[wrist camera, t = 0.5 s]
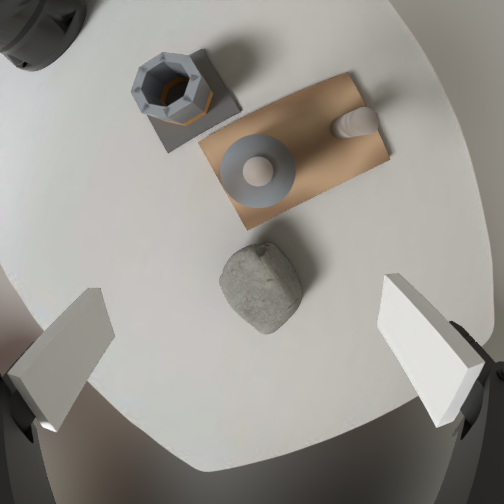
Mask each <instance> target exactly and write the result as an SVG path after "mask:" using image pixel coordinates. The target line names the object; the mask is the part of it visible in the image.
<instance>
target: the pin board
mask: <svg viewBox="0 0 504 504" xmlns="http://www.w3.org/2000/svg"><path fill="white" fill-rule="evenodd" d="M378 127H379V117H378V115H377V114H376V112H375V111H374V110H372V109H371V108H369V107H366V105H365V103H364V101H363V99H362V97H361V95H360V93H359V92H358V90H357V88H356V86H355V84H354V82H353V81H352V79H351V77H350V75H349V74H348V72H347V73H344V74H342V75H339V76H336V77H334V78H331V79H328V80H326V81H323V82H321V83H318V84H316V85H313V86H311V87H308V88H306V89H303V90H301V91H299V92H296V93H294V94H292V95H290V96H287V97H285V98H283V99H281V100H278V101H276V102H274V103H272V104H270V105H268V106H266V107H264V108H261V109H259V110H257V111H255V112H253V113H251V114H249V115H247V116H245V117H243V118H241V119H239V120H238V121H236V122H234V123H232V124H230V125H228V126H226V127H224V128H223V129H221V130H219V131H217V132H215V133H213V134H212V135H210V136H208V137H206V138H205V139H203V140H201V141H199V142H198V143H199V145H200V147H201V149H202V151H203V152H204V154H205V156H206V158H207V159H208V161H209V163H210V165H211V167H212V168H213V170H214V172H215V174H216V176H217V177H218V179H219V181H220V183H221V184H222V186H223V188H224V190H225V192H226V193H227V195H228V197H229V199H230V201H231V202H232V204H233V206H234V208H235V210H236V211H237V213H238V215H239V217H240V218H241V220H242V222H243V224H244V226H245V227H246V229H247V231H248V230H250V229H251V228H253V227H255V226H257V225H259V224H261V223H263V222H265V221H267V220H269V219H271V218H273V217H275V216H277V215H279V214H281V213H283V212H285V211H287V210H289V209H291V208H293V207H295V206H297V205H299V204H301V203H303V202H305V201H307V200H309V199H311V198H313V197H315V196H317V195H319V194H321V193H323V192H325V191H327V190H329V189H331V188H333V187H335V186H337V185H339V184H341V183H343V182H345V181H347V180H349V179H351V178H353V177H355V176H357V175H359V174H361V173H363V172H366V171H368V170H370V169H372V168H374V167H376V166H378V165H380V164H382V163H384V162H386V161H388V160H390V157H389V155H388V152H387V150H386V148H385V145H384V143H383V141H382V139H381V136H380V134H379V132H378V130H377V129H378Z"/></svg>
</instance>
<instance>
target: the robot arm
mask: <svg viewBox="0 0 504 504" xmlns="http://www.w3.org/2000/svg"><path fill="white" fill-rule="evenodd" d="M85 14H86V2H85V0H0V53H2V54H3V55H4V56H5V57H6V58H7V59H8V60H9V61H10V62H12V63H13V64H14V65H15V66H16V67H17V68H19V69H22V70H26V71H38V70H41V69H43V68H45V67H47V66H48V65H50V64H51V63H52V62H54V61H55V60H56V59H57V58H58V57H59V56H60V55H62V53H63V52H64V51H65V50H66V49H67V48H68V47H69V45H70V44H71V43H72V41H73V40H74V38H75V37H76V35H77V34H78V32H79V30H80V28H81V26H82V24H83V21H84V18H85ZM377 327H378V328H379V330H380V332H381V333H382V335H383V336H384V338H385V339H386V341H387V343H388V344H389V346H390V348H391V349H392V351H393V352H394V354H395V356H396V357H397V359H398V361H399V362H400V364H401V366H402V367H403V369H404V371H405V372H406V374H407V376H408V377H409V379H410V381H411V383H412V384H413V386H414V388H415V390H416V391H417V393H418V395H419V397H420V398H421V400H422V402H423V404H424V405H425V407H426V409H427V411H428V413H429V415H430V416H431V418H432V420H433V422H434V424H435V426H436V427H439V426H442V425H445V424H447V423H449V422H452V421H454V419H455V417H456V416H457V414H458V412H459V411H460V410H461V412H462V413H463V415H464V417H463V419H462V420H461V422H460V423H459V425H458V426H457V428H456V429H455V431H454V432H453V434H452V436H455V435H456V433H457V432H458V435H457V439H456V442H455V446H454V450H453V453H452V456H451V459H450V463H449V466H448V469H447V472H446V475H445V477H444V480H443V483H442V485H441V488H440V491H439V493H438V496H437V498H436V500H435V503H434V504H504V362H501V361H500V362H497V363H495V362H494V361H493V360H492V358H491V357H490V356H489V355H488V354H487V353H486V352H485V350H484V349H483V348H482V347H481V346H480V345H479V344H478V343H477V342H475V340H474V339H473V338H472V337H471V336H469V333H468V332H467V331H466V330H465V329H464V328H463V327H462V326H460V325H458V324H456V323H455V322H453V321H449V322H448V321H447V320H446V319H445V318H444V316H443V315H442V314H441V313H440V312H439V311H438V310H437V309H436V308H435V307H434V306H433V305H432V304H431V303H430V302H429V301H428V300H427V299H426V298H425V297H424V296H423V295H422V294H420V293H419V292H418V291H417V290H416V289H415V288H414V287H413V286H412V285H411V284H410V283H409V282H408V281H407V280H406V279H405V278H404V277H403V276H402V275H400V274H399V273H396V274H385V277H384V285H383V292H382V299H381V305H380V311H379V317H378V322H377ZM114 337H115V334H114V331H113V328H112V325H111V322H110V319H109V315H108V312H107V309H106V306H105V302H104V299H103V295H102V292H101V288H88V289H87V290H86V291H84V292H83V293H82V294H81V295H80V296H79V297H78V298H77V299H76V300H75V301H74V302H73V303H72V304H71V305H70V306H69V307H68V308H67V309H66V310H65V311H64V312H63V313H62V314H61V315H60V316H59V317H58V318H57V319H56V320H55V321H54V322H53V323H52V324H51V325H50V326H49V327H48V328H47V329H46V330H45V332H44V333H43V334H42V335H41V336H40V337H39V338H38V339H37V340H36V341H34V342H33V343H32V344H31V345H30V346H29V347H28V348H27V349H26V352H24V353H23V354H22V355H21V357H19V358H18V359H17V360H16V362H15V363H14V364H13V365H12V366H11V367H10V369H9V370H8V371H7V372H6V373H5V374H4V376H3V377H2V376H1V374H0V504H56V502H55V500H54V496H53V493H52V490H51V487H50V484H49V481H48V477H47V474H46V470H45V466H44V462H43V458H42V454H41V450H40V445H39V440H38V434H37V429H36V427H35V425H34V423H33V420H34V419H35V417H36V418H37V420H38V421H39V422H40V424H41V425H42V426H43V427H44V428H47V429H49V430H52V431H55V432H57V431H58V430H59V427H60V426H61V424H62V422H63V420H64V419H65V417H66V415H67V414H68V412H69V410H70V408H71V407H72V405H73V403H74V401H75V399H76V398H77V396H78V394H79V393H80V391H81V389H82V388H83V386H84V385H85V383H86V381H87V380H88V378H89V376H90V375H91V373H92V372H93V370H94V368H95V367H96V365H97V364H98V362H99V360H100V359H101V357H102V356H103V354H104V353H105V351H106V349H107V348H108V346H109V345H110V343H111V342H112V340H113V339H114Z"/></svg>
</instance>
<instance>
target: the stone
mask: <svg viewBox="0 0 504 504" xmlns="http://www.w3.org/2000/svg"><path fill="white" fill-rule="evenodd" d="M219 283H220V287H221V289H222V291H223V293H224V295H225V297H226V299H227V301H228V303H229V304H230V306H231V307H232V308H233V309H234V310H235V311H236V312H237V313H238V314H239V315H240V316H241V317H242V318H243V319H244V320H245V321H247V322H248V323H249V324H251V325H252V326H253V327H255V328H256V329H257V330H258V331H259V332H260V333H262V334H271V333H273V332H275V331H276V330H278V329H279V328H280V327H281V326H282V325H283V324H284V323H285V322H286V321H287V320H288V319H289V318H290V317H291V316H292V315H293V314H294V313H295V312H296V310H297V309H298V307H299V305H300V303H301V300H302V289H301V285H300V282H299V279H298V276H297V274H296V272H295V270H294V268H293V267H292V265H291V263H290V262H289V260H288V259H287V258H286V257H285V255H284V254H283V253H282V252H281V251H280V250H279V249H278V248H277V247H276V246H275V245H274V244H272V243H270V242H266V243H264V244H262V245H255V244H254V245H249V246H247V247H245V248H243V249H241V250H239V251H237V252H236V253H234V254H233V255H232V256H231V258H230V259H229V260H228V262H227V264H226V265H225V267H224V270H223V273H222V275H221V276H220V279H219Z"/></svg>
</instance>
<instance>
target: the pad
mask: <svg viewBox="0 0 504 504" xmlns="http://www.w3.org/2000/svg"><path fill="white" fill-rule="evenodd" d="M189 57H190V58H191V59H192V61H193V62H194V64H195V65H196V67H197V68H198V70H199V71H200V73H201V74H202V76H203V77H204V79H205V81H206V82H207V84H208V86H209V87H210V89H211V91H212V93H213V96H212V99H211V102H210V105H209V108H208V111H207V114H206V115H204V116H203V117H201V118H199V119H197V120H196V121H194V122H192V123H191V124H189V125H187V126H185V125H180V124H176V123H171V122H166V121H163V120H161V119H158V118H155V117H152V116H149V115H147V116H148V118H149V120H150V122H151V123H152V125H153V127H154V129H155V131H156V133H157V134H158V136H159V138H160V140H161V142H162V143H163V145H164V147H165V149H166V151H167V152H168V153H169V152H171V151H173V150H174V149H176V148H177V147H179V146H181V145H182V144H184V143H186V142H187V141H189V140H191V139H192V138H194V137H196V136H197V135H199V134H201V133H203V132H204V131H206V130H208V129H210V128H211V127H213V126H215V125H217V124H219V123H221V122H222V121H224V120H226V119H228V118H230V117H232V116H234V115H236V114H238V113H239V112H240V110H239V109H238V107H237V105H236V103H235V102H234V100H233V98H232V97H231V95H230V93H229V92H228V90H227V88H226V87H225V85H224V83H223V82H222V80H221V78H220V77H219V75H218V73H217V72H216V70H215V68H214V67H213V65H212V64H211V62H210V60H209V59H208V57H207V56H206V54H205V52H204V51H203V49H201V50H199V51H197V52H195V53H193V54H191V55H189ZM188 82H189V81H184V80H182V81H181V82H179V83H177V84H176V85H174V86H172V87H171V88H169V91H168V93H167V97H166V100H165V104H166V106H169V105H170V104H172V103H174V102H175V101H177V100H178V99H180V98H182V97H183V96H184V94H185V91H186V88H187V85H188Z"/></svg>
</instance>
